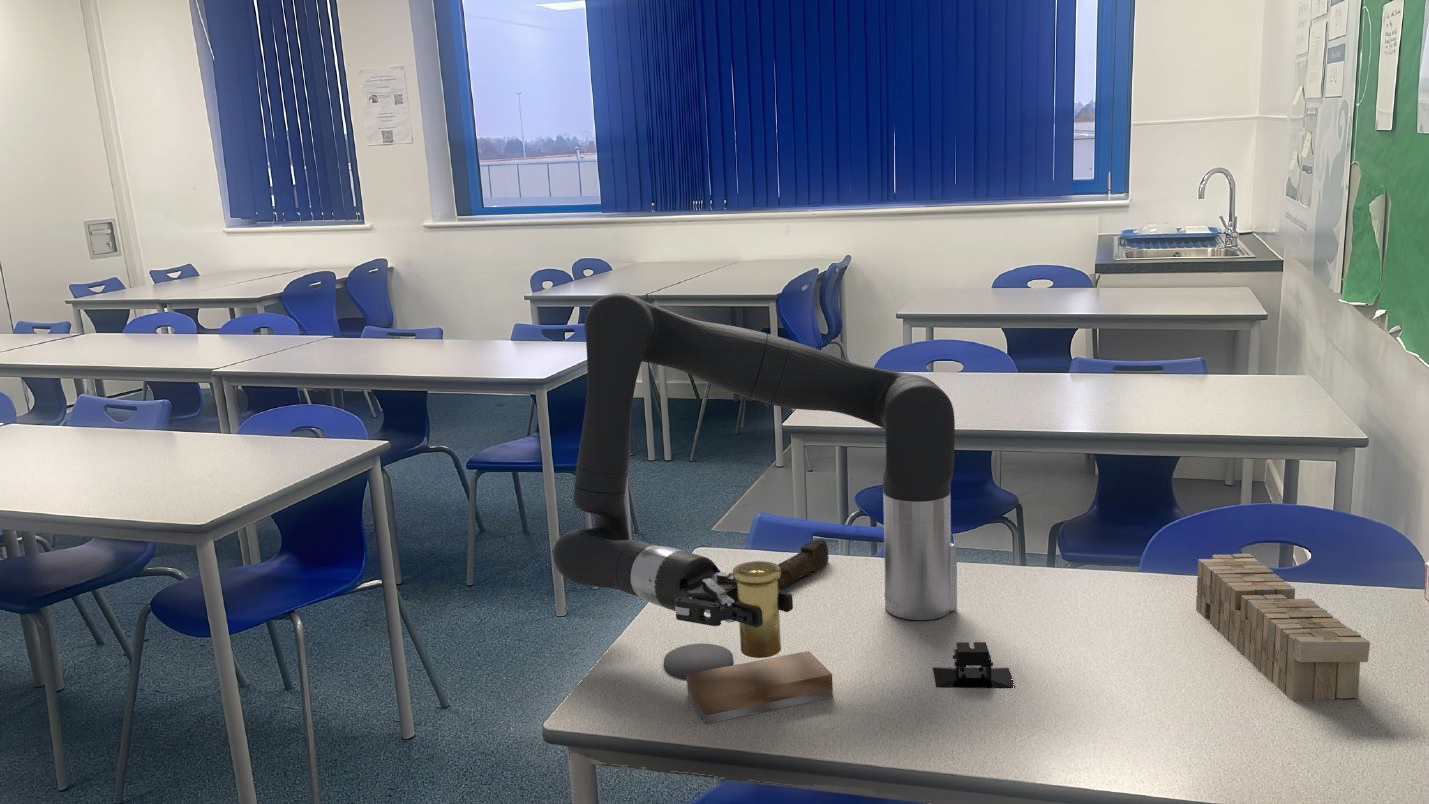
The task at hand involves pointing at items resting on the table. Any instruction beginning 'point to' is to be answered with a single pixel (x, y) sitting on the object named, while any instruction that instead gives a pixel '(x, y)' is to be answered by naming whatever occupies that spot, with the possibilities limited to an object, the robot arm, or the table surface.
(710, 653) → the rubber pad
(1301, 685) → the block tower
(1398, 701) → the table surface
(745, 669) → the body
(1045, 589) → the table surface
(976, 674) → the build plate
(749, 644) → the flanged brass cylinder
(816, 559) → the hand tool
